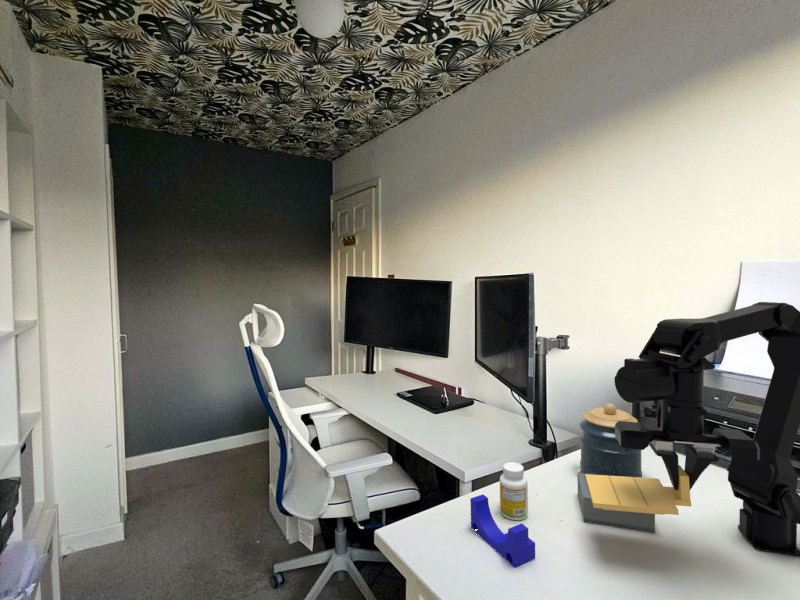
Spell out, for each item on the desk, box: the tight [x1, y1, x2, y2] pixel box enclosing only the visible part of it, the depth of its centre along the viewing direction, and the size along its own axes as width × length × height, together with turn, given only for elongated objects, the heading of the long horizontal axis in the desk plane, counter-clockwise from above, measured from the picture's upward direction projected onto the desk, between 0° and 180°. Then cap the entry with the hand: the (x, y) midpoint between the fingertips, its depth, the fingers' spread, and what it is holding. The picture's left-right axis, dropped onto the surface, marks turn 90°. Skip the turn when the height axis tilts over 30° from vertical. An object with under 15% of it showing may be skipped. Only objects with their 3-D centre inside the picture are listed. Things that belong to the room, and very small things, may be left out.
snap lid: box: [585, 464, 692, 516], centre depth 67 cm, size 15×10×6 cm
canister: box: [579, 402, 643, 478], centre depth 93 cm, size 13×13×18 cm
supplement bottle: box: [499, 461, 529, 521], centre depth 79 cm, size 5×5×10 cm
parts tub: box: [577, 472, 656, 534], centre depth 79 cm, size 12×10×5 cm
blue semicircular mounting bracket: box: [470, 494, 536, 569], centre depth 71 cm, size 12×4×6 cm, turn 26°
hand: (681, 489), depth 65 cm, fingers closed on snap lid
